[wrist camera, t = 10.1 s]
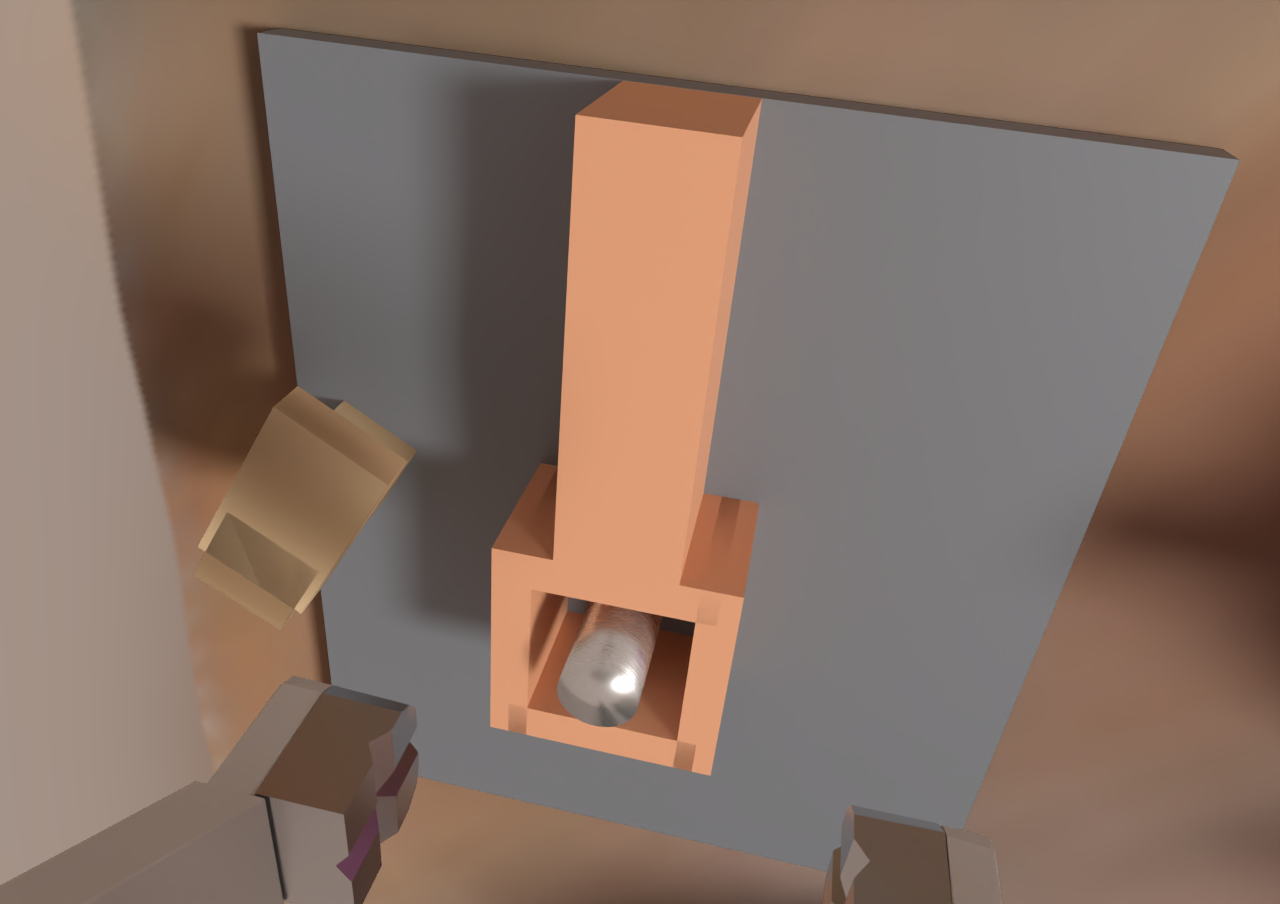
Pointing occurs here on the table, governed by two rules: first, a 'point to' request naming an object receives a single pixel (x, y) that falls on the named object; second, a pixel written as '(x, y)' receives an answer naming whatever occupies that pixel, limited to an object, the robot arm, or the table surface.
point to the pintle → (608, 664)
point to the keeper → (298, 504)
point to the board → (735, 411)
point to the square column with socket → (637, 429)
